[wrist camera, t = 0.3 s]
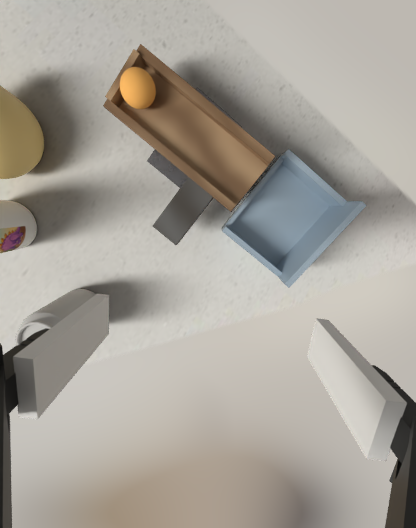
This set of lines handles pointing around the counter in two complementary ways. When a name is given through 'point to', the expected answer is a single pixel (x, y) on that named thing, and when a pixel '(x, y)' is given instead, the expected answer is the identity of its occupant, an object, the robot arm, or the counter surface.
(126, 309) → the counter surface
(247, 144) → the seesaw chute
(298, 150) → the counter surface
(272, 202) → the box
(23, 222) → the milk bottle
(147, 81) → the ball
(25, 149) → the sculpture
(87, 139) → the counter surface
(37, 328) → the can
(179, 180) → the pivot stand
